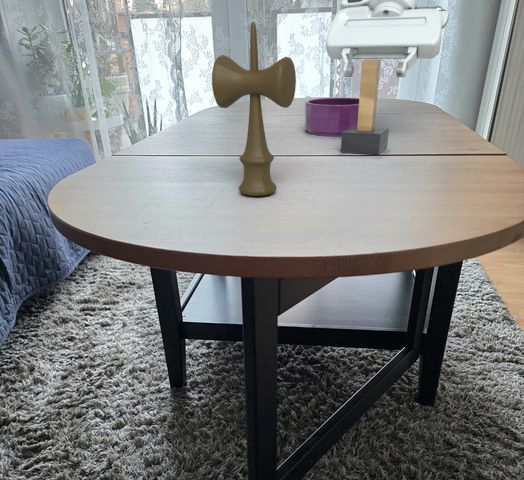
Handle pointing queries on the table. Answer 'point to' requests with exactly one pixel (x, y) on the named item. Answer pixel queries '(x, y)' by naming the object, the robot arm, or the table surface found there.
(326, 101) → the bowl
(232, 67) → the kendama
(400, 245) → the table surface
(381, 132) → the brush
